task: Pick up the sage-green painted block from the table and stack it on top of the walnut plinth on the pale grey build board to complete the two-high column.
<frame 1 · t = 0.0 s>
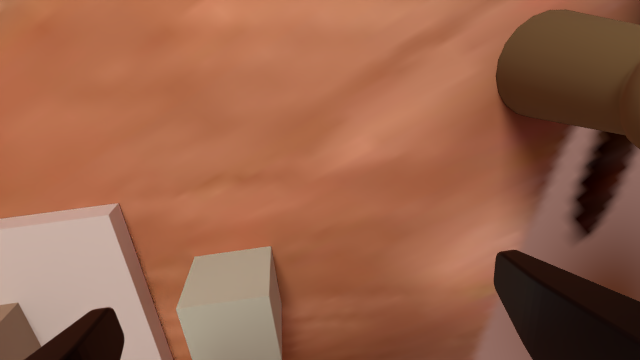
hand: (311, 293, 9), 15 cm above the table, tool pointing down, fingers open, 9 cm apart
sage block: (240, 281, 27), on the table
cork: (544, 65, 23), on the table
build board: (25, 337, 27), on the table
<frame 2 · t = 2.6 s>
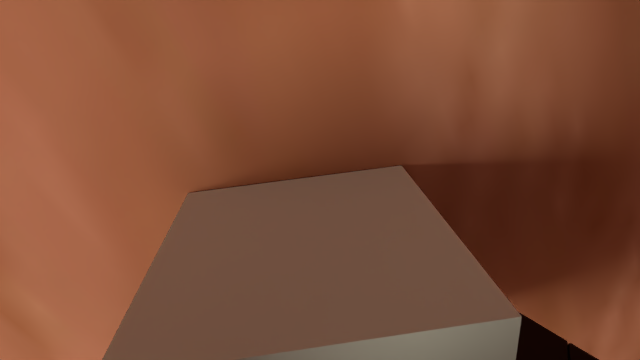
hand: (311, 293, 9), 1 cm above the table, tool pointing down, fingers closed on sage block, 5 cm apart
sage block: (308, 267, 10), on the table, touching gripper
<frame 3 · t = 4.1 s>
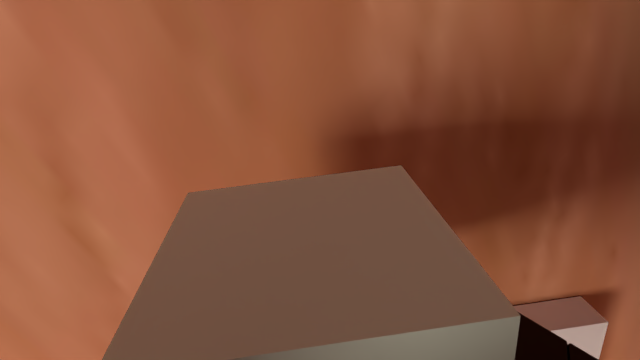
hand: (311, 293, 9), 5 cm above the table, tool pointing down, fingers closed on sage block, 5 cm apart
sage block: (307, 266, 10), point 4 cm above the table, touching gripper
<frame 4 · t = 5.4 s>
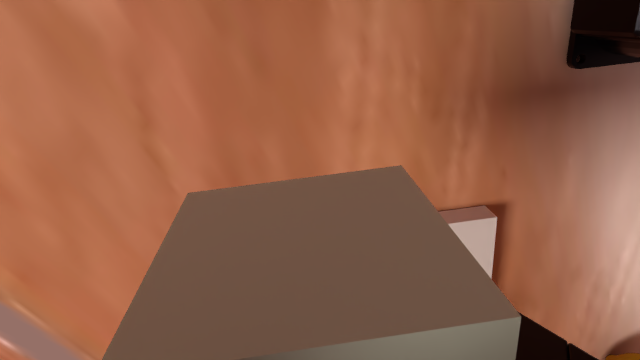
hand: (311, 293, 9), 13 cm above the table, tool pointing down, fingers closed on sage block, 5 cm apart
sage block: (308, 267, 10), point 12 cm above the table, touching gripper
lemon: (606, 354, 31), on the table
build board: (349, 337, 27), on the table
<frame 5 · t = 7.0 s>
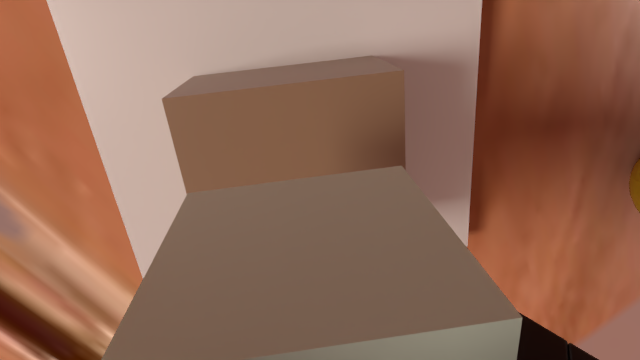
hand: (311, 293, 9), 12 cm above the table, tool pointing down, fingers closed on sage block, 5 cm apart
sage block: (308, 267, 10), point 11 cm above the table, touching gripper
lemon: (638, 162, 23), on the table
build board: (288, 103, 20), on the table
when the fingers open (9 cm above the table, at t = 8.3 s): sage block drops 1 cm, resting on build board.
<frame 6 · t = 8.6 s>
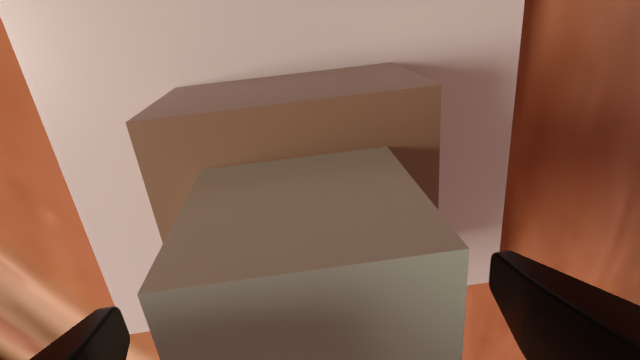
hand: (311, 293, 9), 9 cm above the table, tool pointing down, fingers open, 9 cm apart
sage block: (305, 237, 11), point 6 cm above the table, touching build board
build board: (290, 117, 17), on the table
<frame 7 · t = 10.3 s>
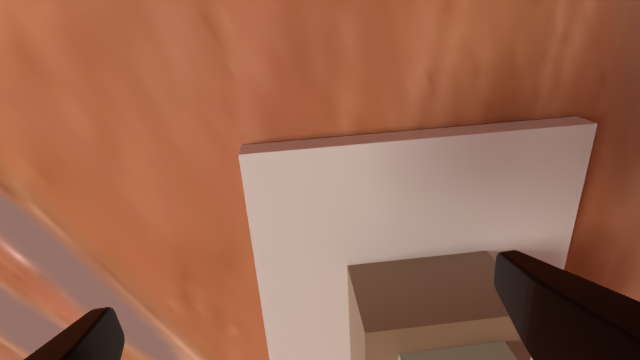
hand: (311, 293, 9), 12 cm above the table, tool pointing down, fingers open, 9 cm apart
build board: (408, 271, 24), on the table
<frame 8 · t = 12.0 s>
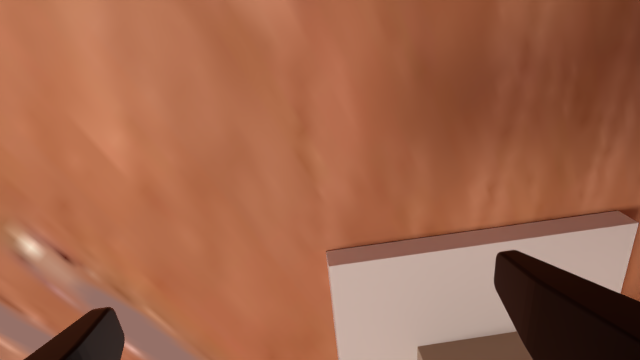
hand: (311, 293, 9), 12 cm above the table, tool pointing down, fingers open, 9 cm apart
build board: (467, 342, 27), on the table
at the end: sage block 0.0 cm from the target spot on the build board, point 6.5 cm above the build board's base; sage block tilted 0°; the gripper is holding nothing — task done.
